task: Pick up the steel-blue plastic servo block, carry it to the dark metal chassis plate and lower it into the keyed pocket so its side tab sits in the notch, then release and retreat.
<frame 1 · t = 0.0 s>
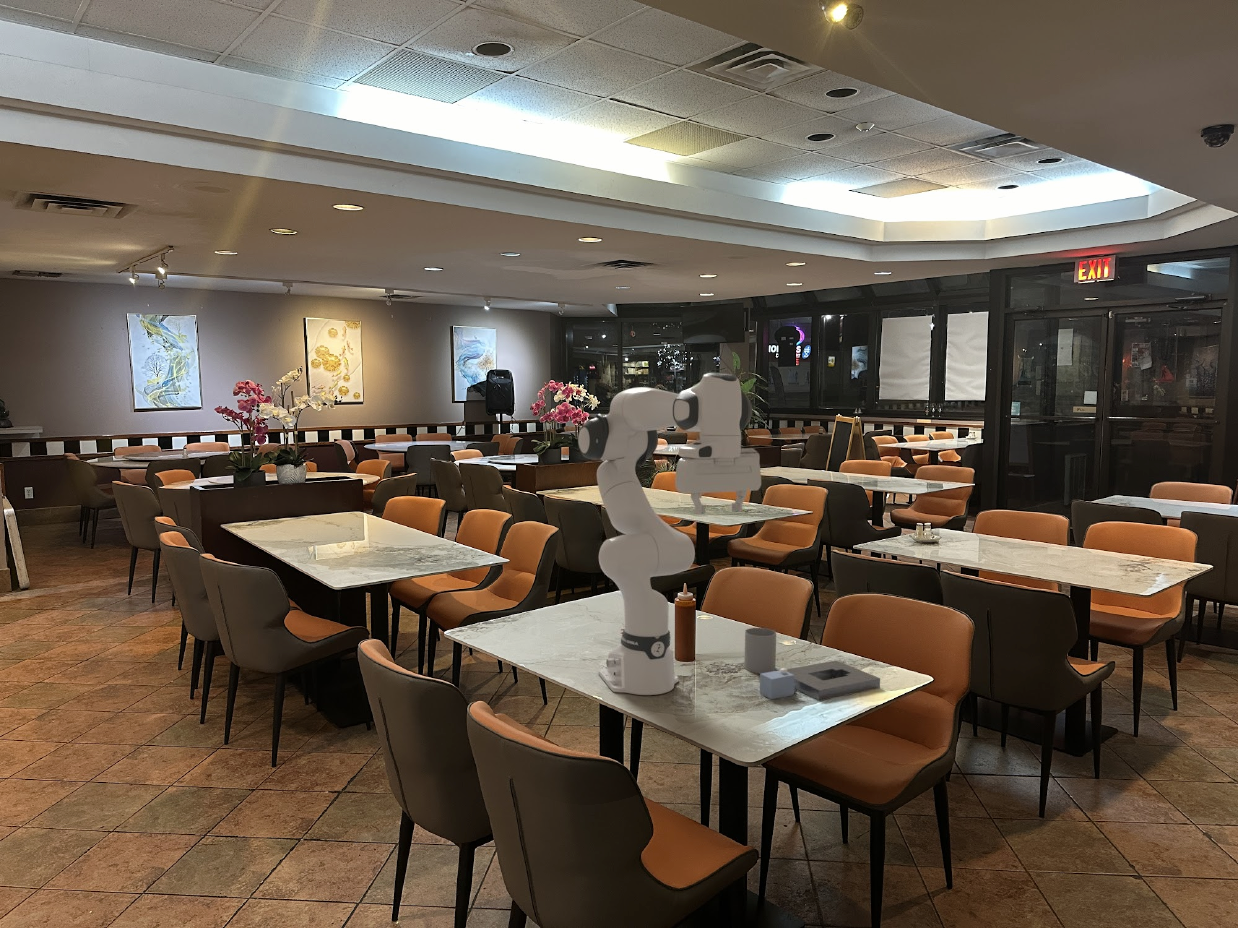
hand: (718, 512, 174), 48 cm above the table, fingers open, 8 cm apart
chassis: (827, 683, 208), on the table
cup: (759, 668, 220), on the table
servo block: (776, 693, 200), on the table
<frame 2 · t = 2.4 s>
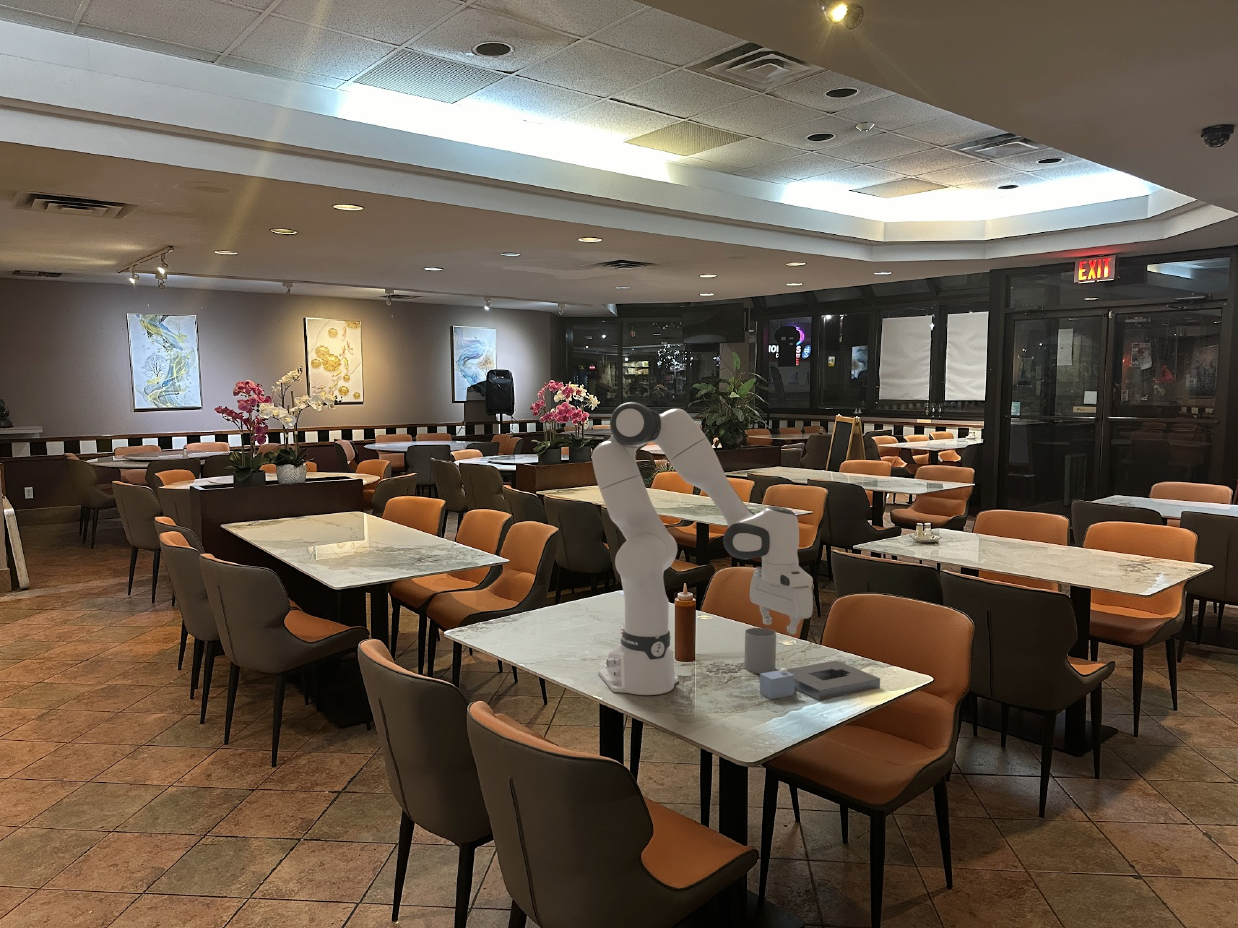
hand: (779, 628, 199), 16 cm above the table, fingers open, 8 cm apart
nothing on the table moved.
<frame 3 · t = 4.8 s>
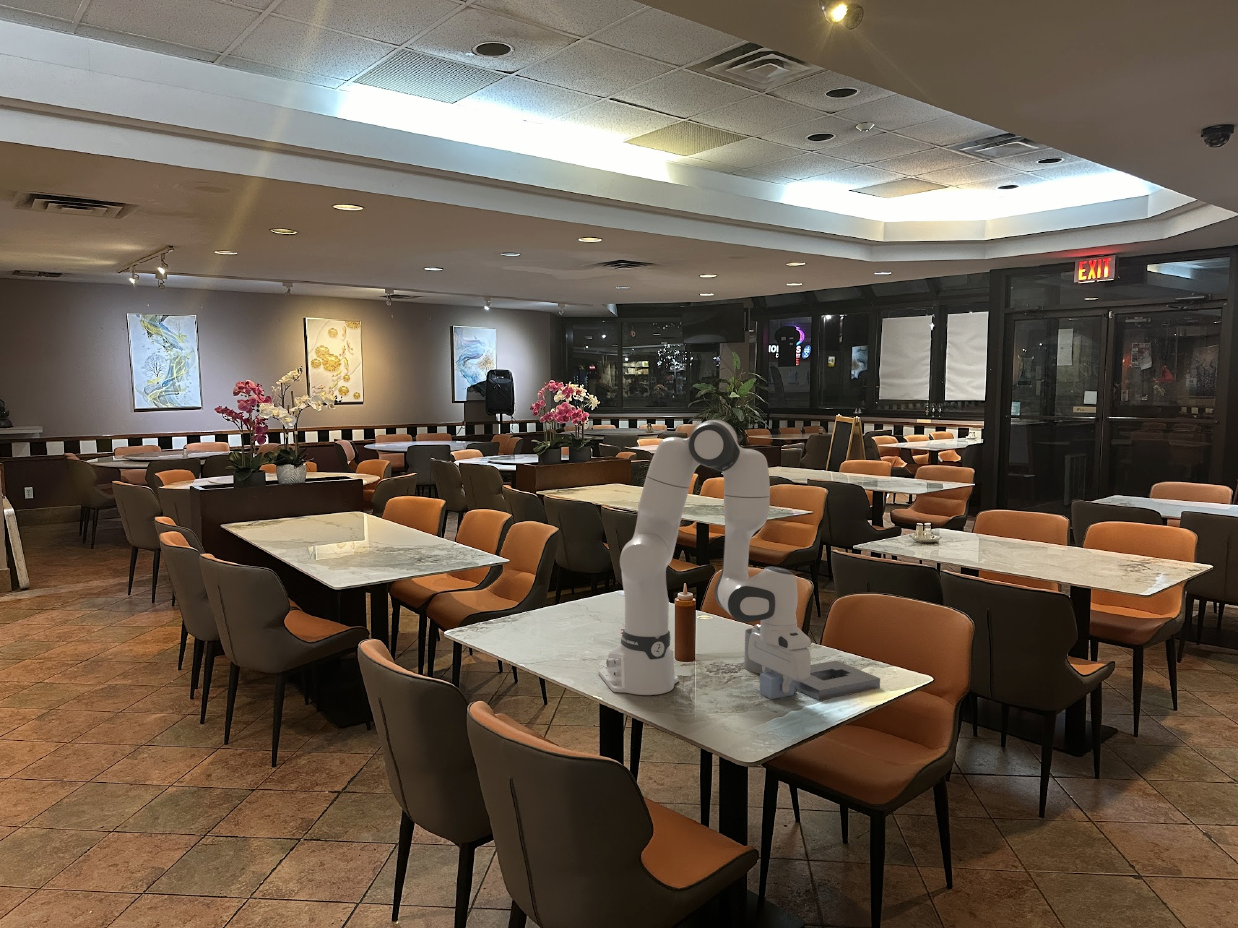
hand: (776, 687, 200), 2 cm above the table, fingers closed on servo block, 4 cm apart
servo block: (776, 693, 200), on the table, touching gripper
everything else where it was.
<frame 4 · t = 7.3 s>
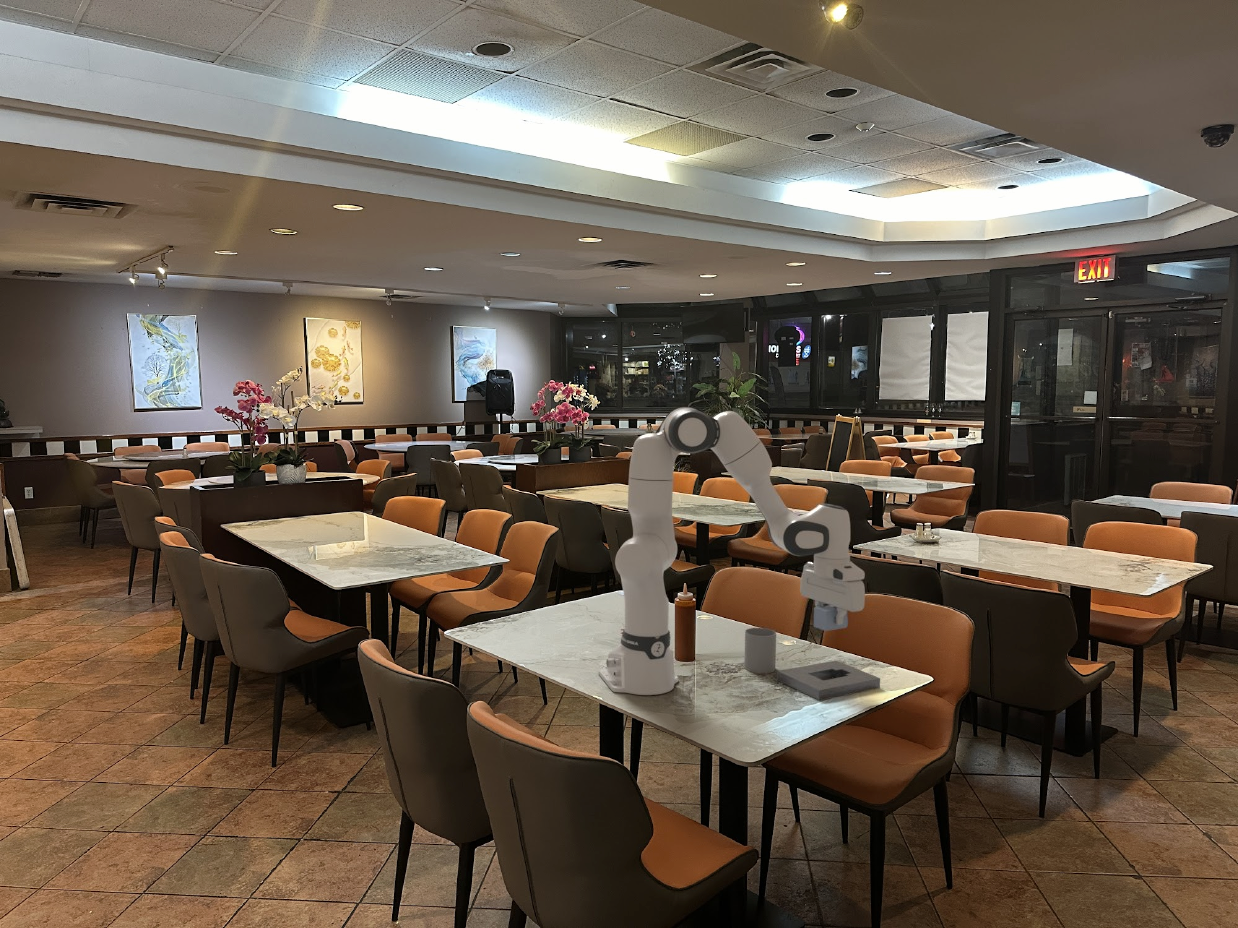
hand: (830, 620, 207), 16 cm above the table, fingers closed on servo block, 4 cm apart
servo block: (830, 627, 207), point 15 cm above the table, touching gripper
everything else where it was.
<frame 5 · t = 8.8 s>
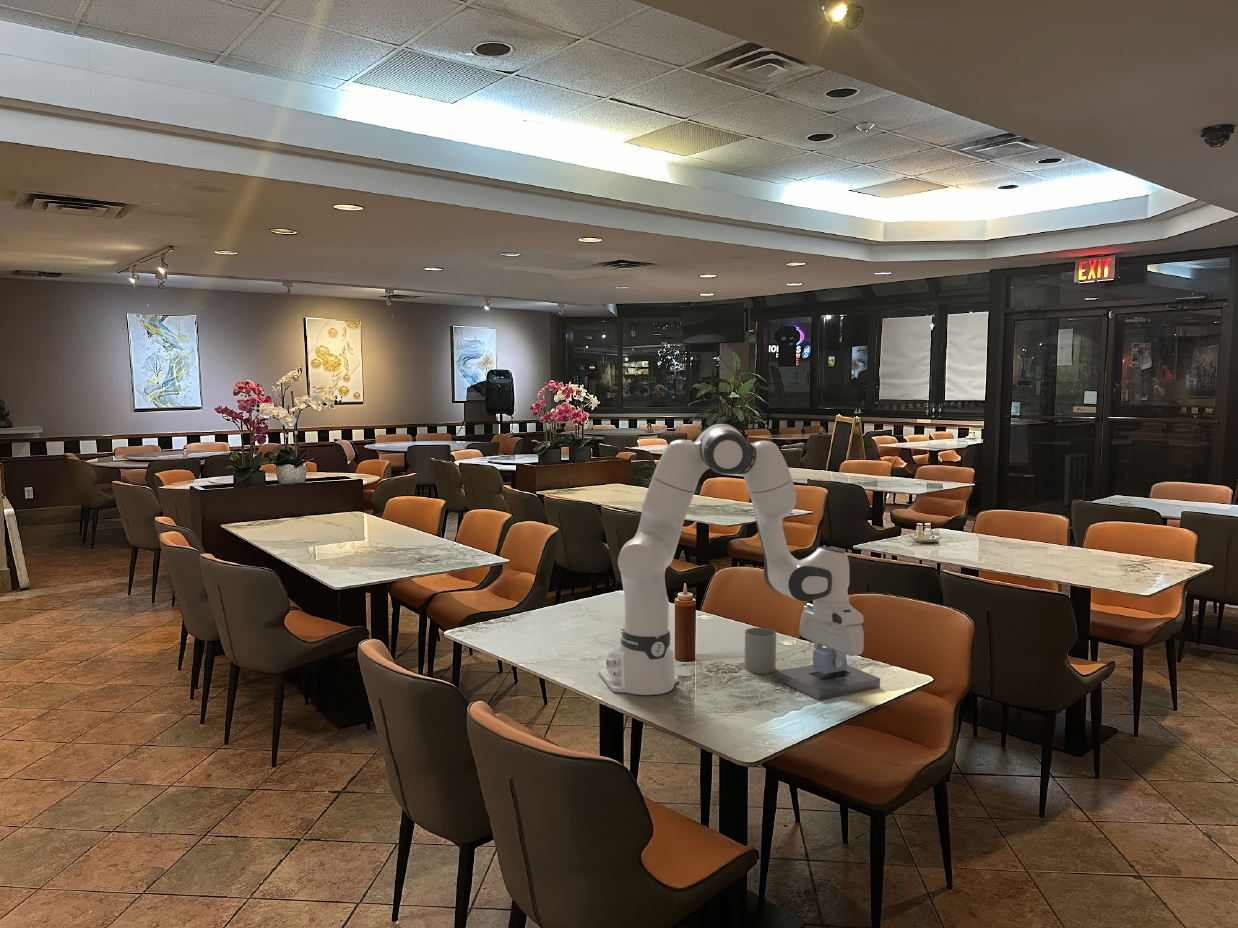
hand: (829, 663, 207), 5 cm above the table, fingers closed on servo block, 4 cm apart
servo block: (829, 669, 208), point 4 cm above the table, touching gripper
everything else where it was.
when the fingers open (3 cm above the table, at t = 10.0 s): servo block drops 2 cm, resting in chassis.
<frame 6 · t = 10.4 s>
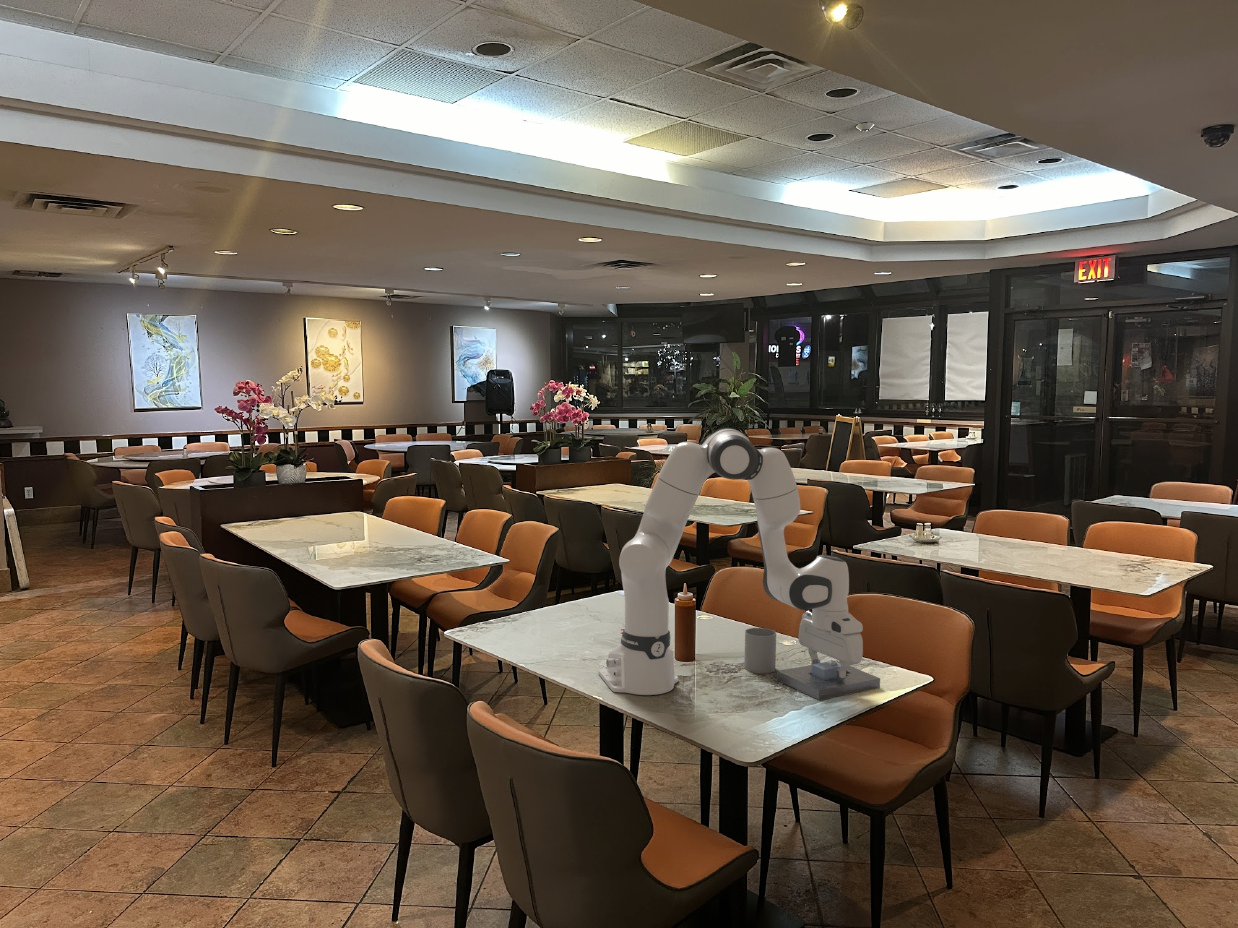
hand: (828, 671, 208), 3 cm above the table, fingers open, 8 cm apart
servo block: (827, 684, 208), resting in chassis
everything else where it was.
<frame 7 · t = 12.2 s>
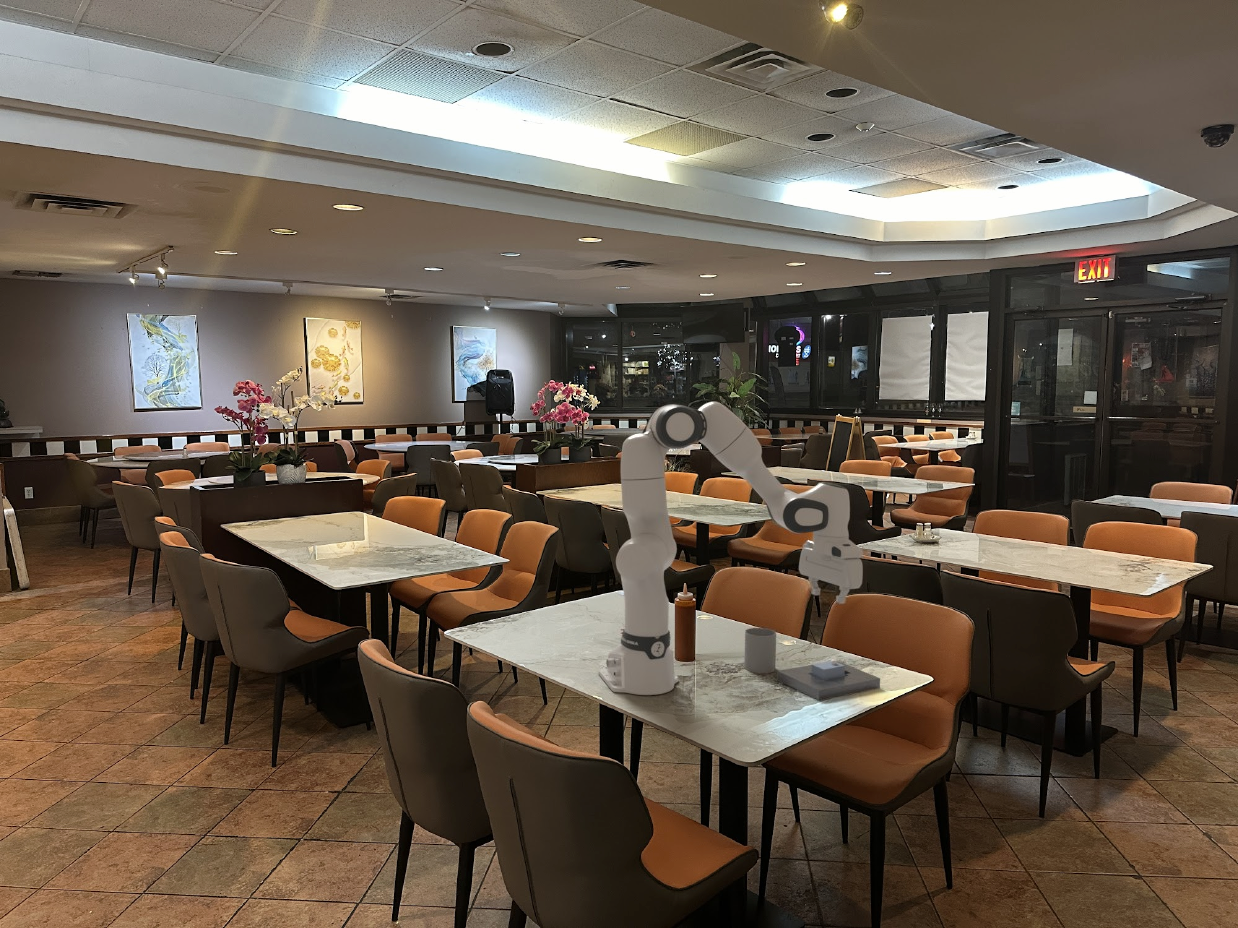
hand: (827, 598, 209), 22 cm above the table, fingers open, 8 cm apart
nothing on the table moved.
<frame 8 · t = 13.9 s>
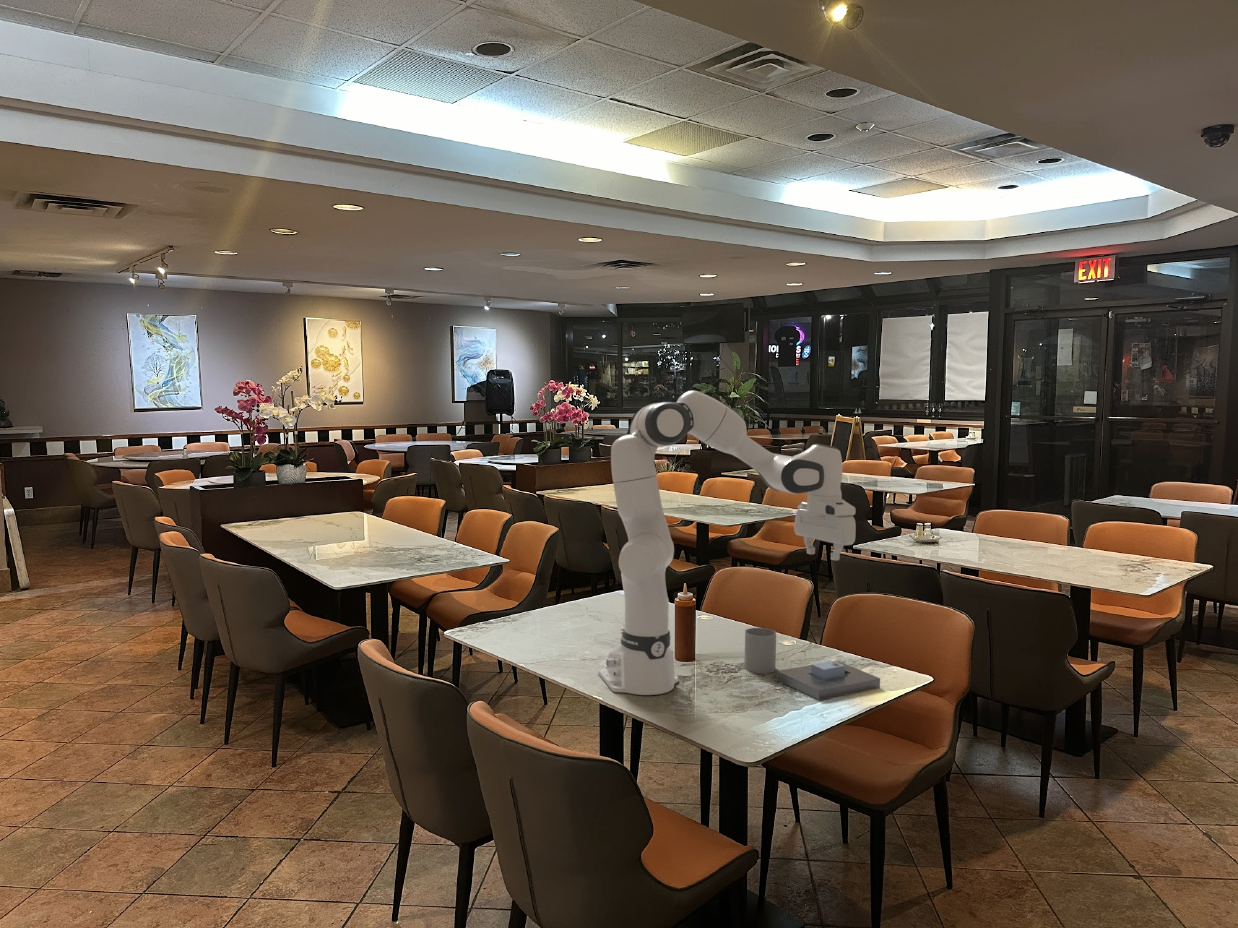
hand: (822, 556, 216), 31 cm above the table, fingers open, 8 cm apart
nothing on the table moved.
at the end: servo block 0.1 cm off-centre on the chassis, point 0.0 cm above the chassis's base; servo block tilted 0°; the gripper is holding nothing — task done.
